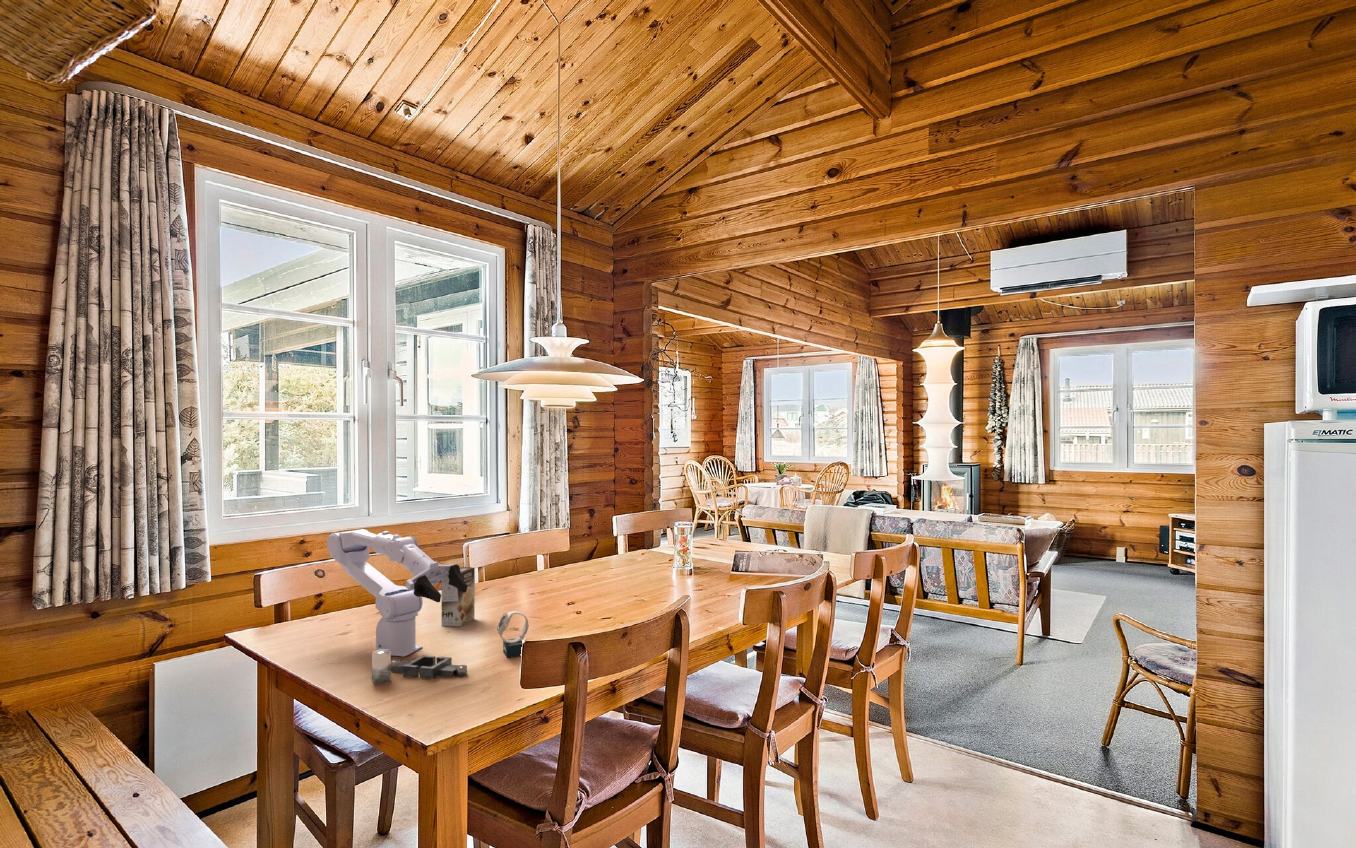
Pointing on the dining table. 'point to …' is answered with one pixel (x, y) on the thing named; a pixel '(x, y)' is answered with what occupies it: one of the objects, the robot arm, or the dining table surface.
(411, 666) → the chain end left
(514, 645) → the watch
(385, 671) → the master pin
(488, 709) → the dining table surface
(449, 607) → the coffee box
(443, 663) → the chain end right
